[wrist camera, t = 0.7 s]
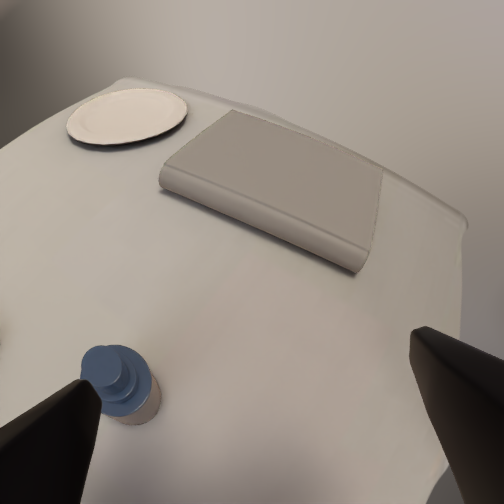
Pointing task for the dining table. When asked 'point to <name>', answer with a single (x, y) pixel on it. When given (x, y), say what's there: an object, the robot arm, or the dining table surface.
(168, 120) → the plate
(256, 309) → the dining table surface
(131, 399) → the blue bottle
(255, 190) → the book
